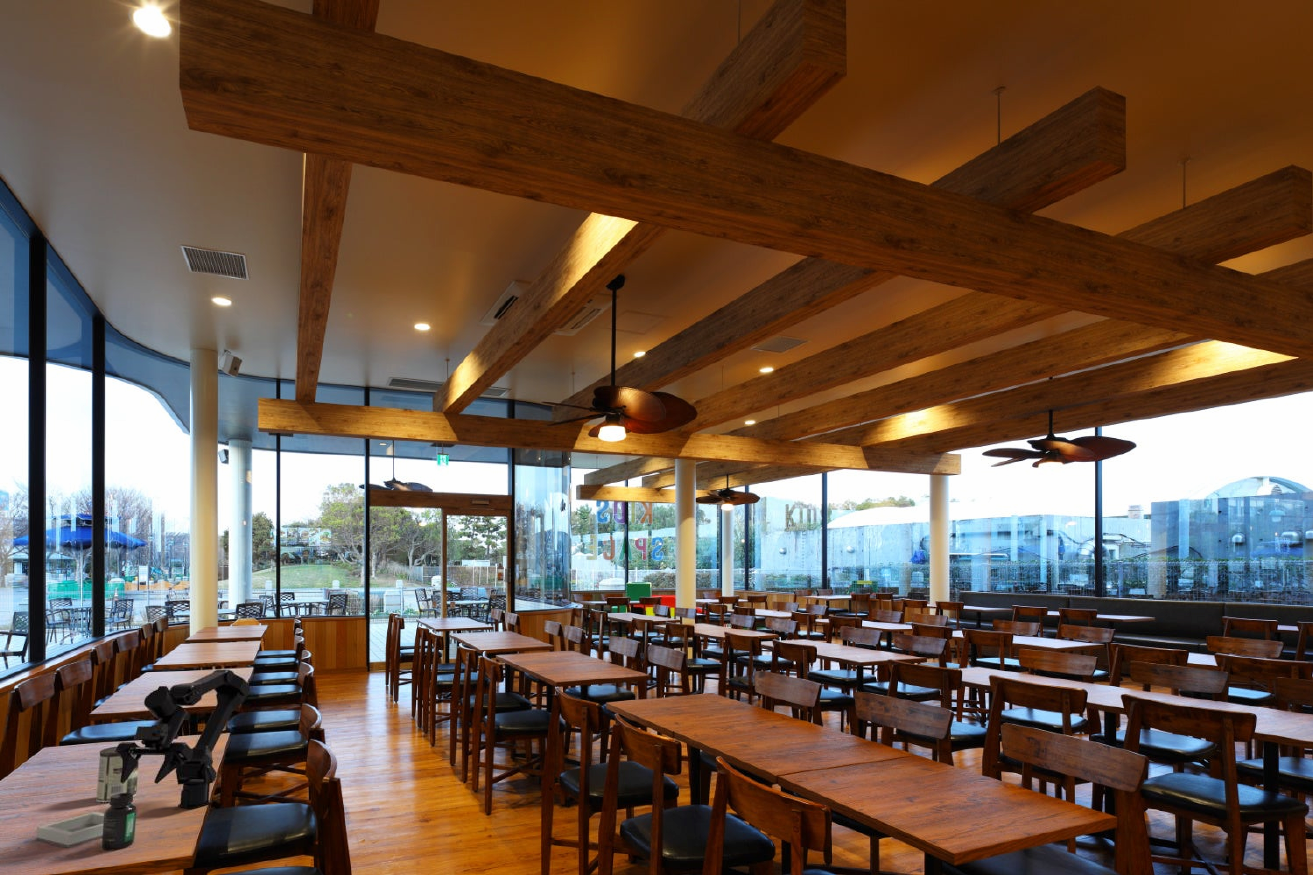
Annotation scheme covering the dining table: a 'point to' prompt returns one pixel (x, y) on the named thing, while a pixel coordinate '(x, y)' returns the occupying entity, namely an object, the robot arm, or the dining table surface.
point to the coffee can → (113, 776)
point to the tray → (73, 830)
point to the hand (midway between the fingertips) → (138, 782)
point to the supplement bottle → (119, 822)
